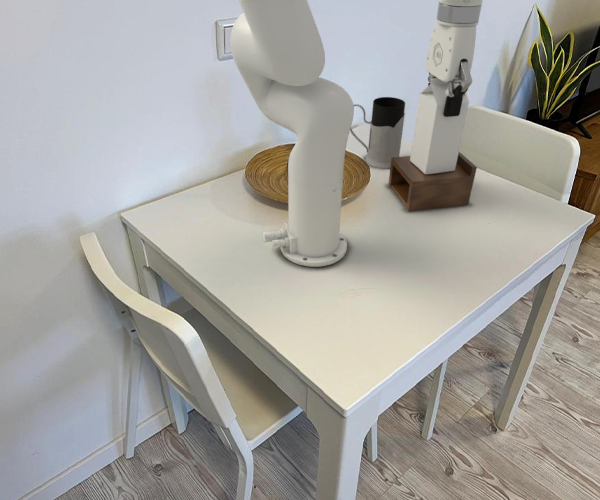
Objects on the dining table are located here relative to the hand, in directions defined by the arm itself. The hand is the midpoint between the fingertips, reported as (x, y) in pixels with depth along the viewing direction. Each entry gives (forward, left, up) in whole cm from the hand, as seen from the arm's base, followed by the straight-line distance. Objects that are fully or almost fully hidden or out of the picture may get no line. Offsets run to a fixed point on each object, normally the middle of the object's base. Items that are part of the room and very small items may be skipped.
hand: (441, 108), depth 103 cm
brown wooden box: (0, 0, -20) cm, 20 cm away
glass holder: (-6, +20, -20) cm, 29 cm away
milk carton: (0, 0, -13) cm, 13 cm away
